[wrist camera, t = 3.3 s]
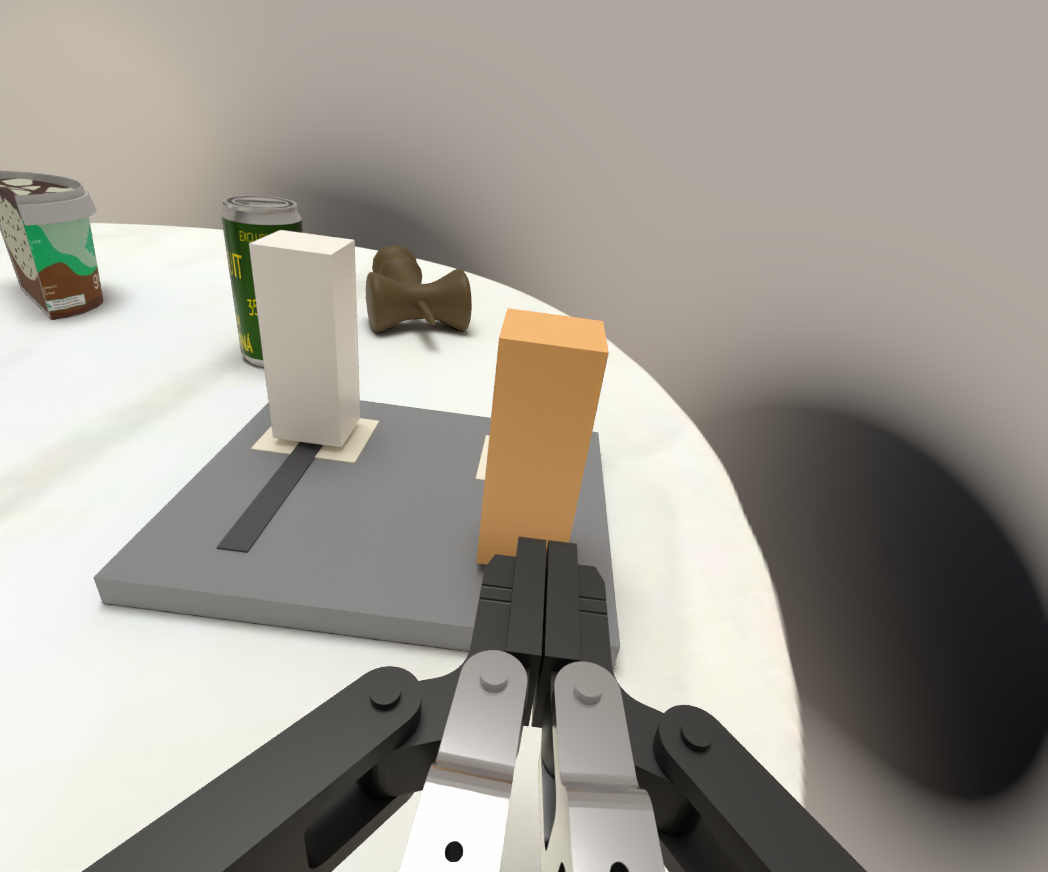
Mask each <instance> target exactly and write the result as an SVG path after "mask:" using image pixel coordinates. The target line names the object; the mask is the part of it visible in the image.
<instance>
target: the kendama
mask: <svg viewBox="0 0 1048 872" xmlns="http://www.w3.org/2000/svg"><path fill="white" fill-rule="evenodd" d="M372 269H373V272H370V273H369V274H368V276H367V280H366V303H367V312H368V318H369V322H370V325H371V328H372V329H373V330H374V331H375V332H377V333H379V332H382V331H384V330H386V329H388V328H390V327H392V326H394V325H396V324H398V323H400V322H402V321H406V320H411V319H425V320H426V321H427V322H428V323H429V324H431V325H434V324H435V320H439V321H441V322H443V323H445V324H447V325H449V326H451V327H453V328H455V329H457V330H460V331H465V330H466V329H467V328H468V326H469V323H470V319H471V310H472V304H471V290H470V284H469V281H468V278H467V276H466V274H465V273H464V271H463V270H460V269H456V270H454V271H452V272H450V273H449V274H447V275H445V276H444V277H442V278H441V279H439V280H437V281H435V282H432V283H429V284H421V282H422V272H421V268H420V267H419V265H418V264H417V262H416V259H415V257H414V255H413V254H412V252H411V251H409V250H407V249H406V248H404V247H400V246H388V247H384V248H383V249H381V250H379V251H378V252H377V254H376V255H375V257H374V259H373V266H372Z"/></svg>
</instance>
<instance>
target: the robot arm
mask: <svg viewBox="0 0 1048 872" xmlns="http://www.w3.org/2000/svg"><path fill="white" fill-rule="evenodd" d="M607 614H608V612H607V603H606V589H605V582H604V580H603V578H602V577H601V575H600V573H599V572H598V570H597V568H596V567H595V566H587V565H579V564H578V555H577V544H576V543H569V542H561V541H553V540H548V544H547V550H546V540H544V539H536V538H528V537H520V536H519V537H518V544H517V551H516V557H515V556H507V555H499V554H495V555H494V557H493V558H492V559H491V560H490V561H489V563H488V564H487V565H486V566H485V568H484V574H483V579H482V586H481V591H480V596H479V602H478V607H477V613H476V618H475V624H474V630H473V635H472V641H471V646H470V651H469V654H468V656H467V658H466V660H465V661H464V663H463V664H462V665H461V666H460V667H459V668H457V669H456V670H455V671H453V672H451V673H450V674H447V675H445V676H442V677H438V678H433V679H427V680H422V681H418V680H417V679H416V677H415V676H414V675H413V674H412V673H410V672H409V671H407V670H405V669H402V668H399V667H392V666H387V667H380V668H377V669H374V670H372V671H369V672H368V673H366V674H364V675H363V676H362V677H360V678H359V679H357V680H356V681H354V682H353V683H352V684H350V685H349V686H347V687H346V688H344V689H343V690H341V691H340V692H339V693H337V694H336V695H334V696H333V697H331V698H330V699H329V700H327V701H326V702H324V703H323V704H321V705H320V706H319V707H317V708H316V709H314V710H313V711H311V712H310V713H309V714H307V715H306V716H304V717H303V718H301V719H300V720H298V721H297V722H296V723H294V724H293V725H291V726H290V727H288V728H287V729H286V730H284V731H283V732H281V733H280V734H278V735H277V736H276V737H274V738H273V739H271V740H270V741H268V742H267V743H265V744H264V745H263V746H261V747H260V748H258V749H257V750H255V751H254V752H253V753H251V754H250V755H248V756H247V757H245V758H244V759H243V760H241V761H240V762H238V763H237V764H235V765H234V766H233V767H231V768H230V769H228V770H227V771H225V772H224V773H222V774H221V775H220V776H218V777H217V778H215V779H214V780H212V781H211V782H210V783H208V784H207V785H205V786H204V787H202V788H201V789H200V790H198V791H197V792H195V793H194V794H192V795H191V796H189V797H188V798H187V799H185V800H184V801H182V802H181V803H179V804H178V805H177V806H175V807H174V808H172V809H171V810H169V811H168V812H167V813H165V814H164V815H162V816H161V817H159V818H158V819H157V820H155V821H154V822H152V823H151V824H149V825H148V826H146V827H145V828H144V829H142V830H141V831H139V832H138V833H136V834H135V835H134V836H132V837H131V838H129V839H128V840H126V841H125V842H124V843H122V844H121V845H119V846H118V847H116V848H115V849H113V850H112V851H111V852H109V853H108V854H106V855H105V856H103V857H102V858H101V859H99V860H98V861H96V862H95V863H93V864H92V865H91V866H89V867H88V868H86V869H85V870H83V871H82V872H332V871H333V870H334V869H335V868H336V867H337V866H338V865H339V864H340V863H341V862H342V861H343V860H345V859H346V858H347V857H348V856H349V855H350V854H351V853H352V852H353V851H354V850H355V849H356V848H357V847H359V846H360V845H361V844H362V843H363V842H364V841H365V840H366V839H367V838H368V837H369V836H370V835H371V834H372V833H374V832H375V831H376V830H377V829H378V828H379V827H380V826H381V825H382V824H383V823H384V822H385V821H386V820H387V819H389V818H390V817H391V816H392V815H393V814H394V813H395V812H396V811H397V810H398V809H399V808H400V807H401V806H402V805H404V804H405V803H406V802H407V801H408V800H409V799H410V797H411V796H412V795H413V793H414V792H417V791H421V790H423V793H422V796H421V800H420V803H419V807H418V810H417V813H416V817H415V820H414V824H413V827H412V831H411V834H410V838H409V841H408V845H407V848H406V852H405V855H404V859H403V862H402V866H401V869H400V872H499V866H500V859H501V853H502V846H503V840H504V833H505V827H506V820H507V814H508V807H509V801H510V794H511V788H512V781H513V773H514V766H515V760H516V757H517V755H518V752H519V747H520V741H521V736H522V730H523V726H529V721H530V715H531V710H532V727H539V728H542V741H541V751H540V755H539V760H538V778H539V809H540V840H541V871H540V872H665V868H664V866H665V867H666V868H667V870H668V871H669V872H867V871H866V870H864V868H863V867H862V866H861V865H860V864H859V863H858V862H857V861H856V860H855V859H854V858H853V857H852V856H851V855H850V854H849V853H848V852H847V851H846V850H845V849H844V848H843V847H842V846H841V845H840V844H839V843H838V842H837V841H836V840H835V839H834V838H833V837H832V836H831V835H830V834H829V833H828V832H827V831H826V830H825V829H824V828H823V827H822V826H821V825H820V824H819V823H818V822H817V821H816V820H815V819H814V818H813V817H812V816H811V815H810V814H809V813H808V812H807V811H806V810H805V809H804V808H803V807H802V806H801V804H800V803H799V802H798V801H797V800H796V799H795V798H794V797H793V796H792V795H791V794H790V793H789V792H788V791H787V790H786V789H785V788H784V787H783V786H782V785H781V784H780V783H779V782H778V781H777V780H776V779H775V778H774V777H773V776H772V775H771V774H770V773H769V772H768V771H767V770H766V769H765V768H764V767H763V766H762V765H761V764H760V763H759V762H758V761H757V760H756V759H755V758H754V757H753V756H752V755H751V754H750V753H749V752H748V751H747V750H746V749H745V748H744V747H743V746H742V745H741V744H740V743H739V742H738V741H737V740H736V739H735V738H734V737H733V736H732V735H731V734H730V733H729V732H728V731H727V729H726V728H725V727H724V726H723V725H722V724H721V723H720V722H719V721H718V720H716V719H715V718H714V717H713V716H712V715H710V714H709V713H708V712H706V711H704V710H702V709H700V708H697V707H694V706H690V705H678V706H674V707H672V708H670V709H668V710H667V711H666V712H665V713H662V712H660V711H658V710H656V709H653V708H651V707H649V706H646V705H644V704H642V703H640V702H638V701H636V700H635V699H633V698H632V697H631V696H629V695H628V694H627V693H626V692H625V691H624V690H623V689H622V688H621V686H620V685H619V684H618V682H617V680H616V678H615V676H614V673H613V669H612V659H611V647H610V636H609V624H608V617H607ZM532 705H533V709H532Z"/></svg>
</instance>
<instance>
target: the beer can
mask: <svg viewBox="0 0 1048 872" xmlns="http://www.w3.org/2000/svg"><path fill="white" fill-rule="evenodd" d="M223 204H224V209H223V212H222V223H223V230H224V237H225V244H226V251H227V258H228V265H229V272H230V279H231V286H232V293H233V300H234V307H235V314H236V321H237V328H238V334H239V341H240V348H241V352H242V354H243V355H244V357H245V358H246V360H247V361H248V362H249V363H251V364H253V365H255V366H259V367H264V361H263V353H262V345H261V337H260V329H259V321H258V312H257V304H256V296H255V288H254V280H253V272H252V264H251V256H250V248H249V243H252V242H254V241H256V240H258V239H261V238H263V237H265V236H268V235H270V234H272V233H275V232H277V231H279V230H284V231H291V232H299V233H303V229H302V219H301V217H300V215H299V213H298V211H297V210H296V209H297V208H298V207H297V203H295V202H293V201H291V200H287V199H282V198H276V197H267V196H232V197H227V198H225V199H223Z"/></svg>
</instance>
